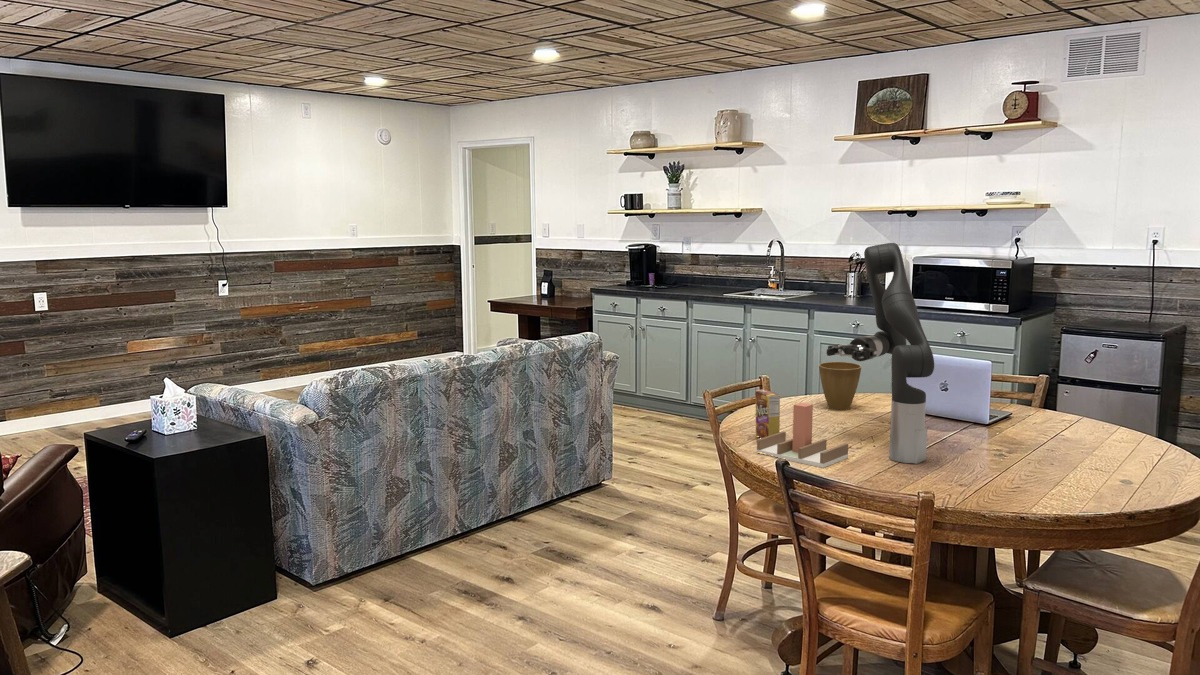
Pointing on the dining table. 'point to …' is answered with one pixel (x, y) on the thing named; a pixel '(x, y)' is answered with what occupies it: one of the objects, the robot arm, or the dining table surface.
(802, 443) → the slim block
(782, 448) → the comb rack
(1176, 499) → the dining table surface
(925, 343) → the robot arm
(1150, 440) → the dining table surface
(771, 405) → the candy box
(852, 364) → the plant pot
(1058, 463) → the dining table surface
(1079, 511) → the dining table surface
